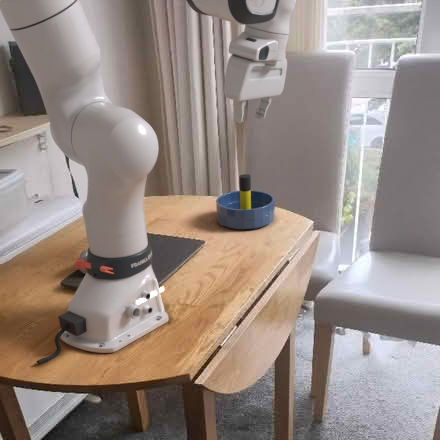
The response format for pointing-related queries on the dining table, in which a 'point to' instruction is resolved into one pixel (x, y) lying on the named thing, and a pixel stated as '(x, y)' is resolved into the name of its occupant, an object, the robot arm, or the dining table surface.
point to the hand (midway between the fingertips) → (249, 120)
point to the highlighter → (245, 191)
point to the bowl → (245, 210)
